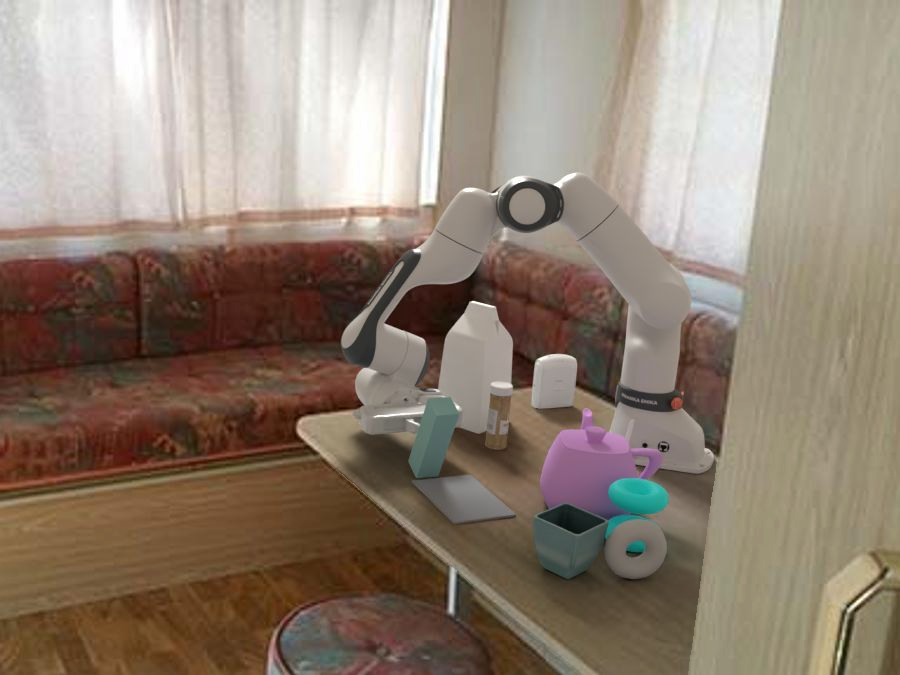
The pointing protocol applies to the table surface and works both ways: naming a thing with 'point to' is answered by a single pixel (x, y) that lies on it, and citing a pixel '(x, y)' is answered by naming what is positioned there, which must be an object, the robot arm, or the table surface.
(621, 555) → the donut
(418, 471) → the teal block
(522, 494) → the table surface
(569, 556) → the flower pot
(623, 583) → the table surface
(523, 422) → the table surface
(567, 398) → the photo printer
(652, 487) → the donuts
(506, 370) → the milk
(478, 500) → the grey mat
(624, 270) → the robot arm
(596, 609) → the table surface
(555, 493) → the teapot
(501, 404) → the sprinkles bottle
